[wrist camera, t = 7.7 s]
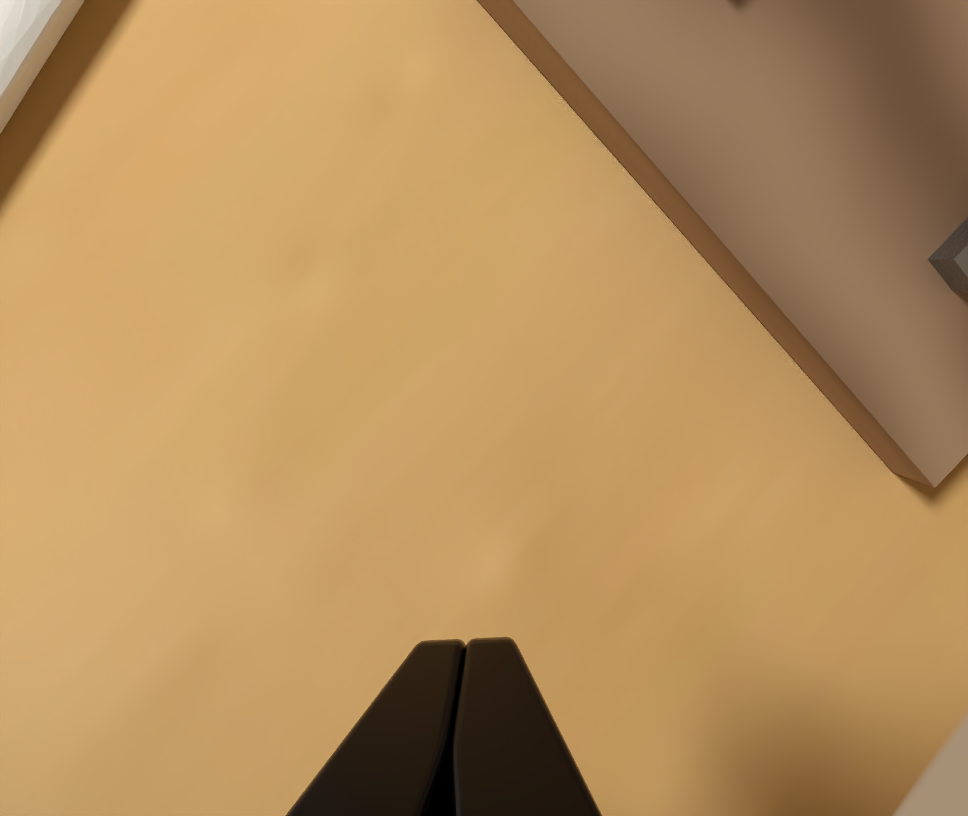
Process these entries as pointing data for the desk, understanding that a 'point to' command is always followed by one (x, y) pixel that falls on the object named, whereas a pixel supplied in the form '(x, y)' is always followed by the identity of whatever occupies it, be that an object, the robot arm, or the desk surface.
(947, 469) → the track board
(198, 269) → the desk surface
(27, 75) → the external hard drive
